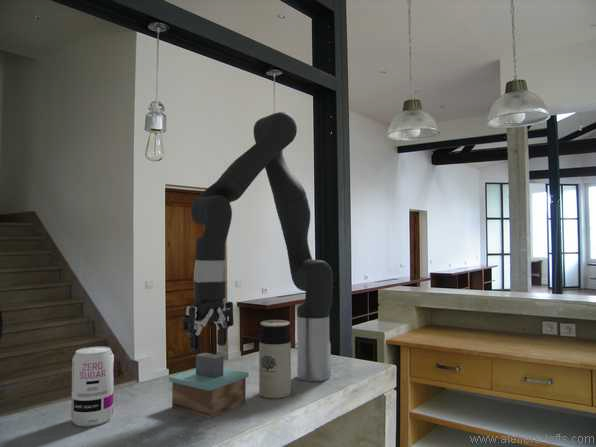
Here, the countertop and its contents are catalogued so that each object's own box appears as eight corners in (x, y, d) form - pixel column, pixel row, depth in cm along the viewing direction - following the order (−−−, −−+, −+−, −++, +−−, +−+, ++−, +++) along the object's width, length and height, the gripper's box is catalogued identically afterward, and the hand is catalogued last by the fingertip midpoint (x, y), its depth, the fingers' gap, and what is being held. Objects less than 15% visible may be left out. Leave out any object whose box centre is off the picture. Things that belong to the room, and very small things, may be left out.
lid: (209, 373, 120) (209, 347, 120) (248, 381, 112) (248, 353, 113) (169, 386, 109) (169, 357, 109) (209, 396, 102) (209, 365, 102)
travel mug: (274, 387, 124) (274, 318, 125) (297, 393, 119) (297, 321, 120) (252, 394, 118) (252, 322, 119) (276, 401, 113) (275, 325, 114)
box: (209, 393, 119) (209, 369, 119) (245, 402, 112) (245, 377, 112) (172, 407, 109) (172, 381, 109) (209, 417, 102) (209, 389, 102)
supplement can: (100, 410, 107) (101, 344, 107) (120, 419, 102) (121, 349, 102) (64, 421, 101) (65, 350, 101) (82, 430, 95) (84, 356, 96)
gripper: (219, 277, 120) (218, 341, 119) (176, 280, 108) (174, 351, 107) (241, 278, 116) (240, 345, 115) (198, 281, 104) (197, 356, 103)
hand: (208, 348), depth 111 cm, fingers open, 8 cm apart
